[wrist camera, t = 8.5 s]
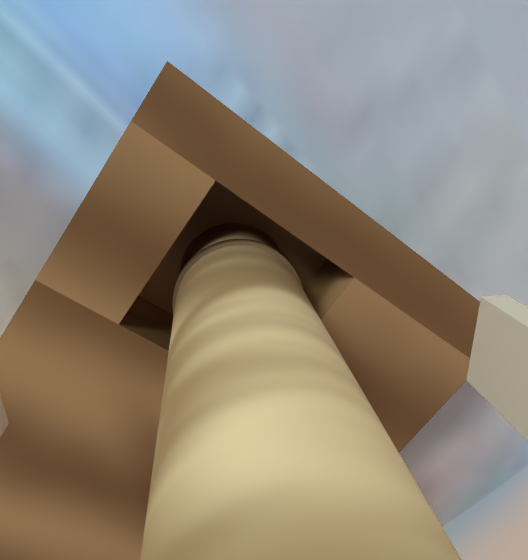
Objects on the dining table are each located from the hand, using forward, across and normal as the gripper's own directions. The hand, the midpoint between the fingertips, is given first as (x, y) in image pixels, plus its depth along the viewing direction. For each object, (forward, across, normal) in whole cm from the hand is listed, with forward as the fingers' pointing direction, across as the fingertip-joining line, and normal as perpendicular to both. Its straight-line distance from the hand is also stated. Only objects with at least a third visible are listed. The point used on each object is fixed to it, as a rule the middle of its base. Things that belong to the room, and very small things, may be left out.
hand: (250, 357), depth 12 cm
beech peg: (+7, 0, 0) cm, 7 cm away
